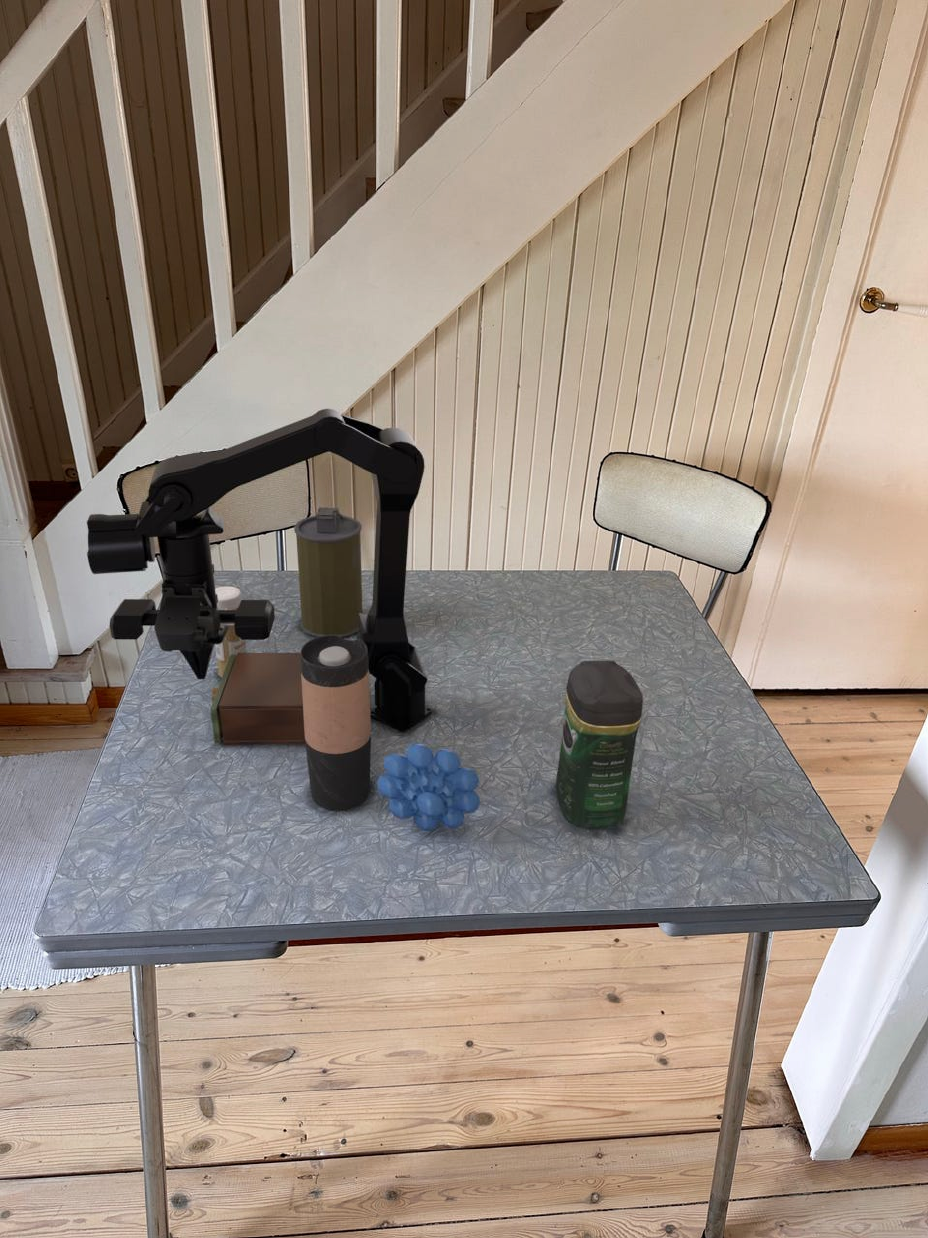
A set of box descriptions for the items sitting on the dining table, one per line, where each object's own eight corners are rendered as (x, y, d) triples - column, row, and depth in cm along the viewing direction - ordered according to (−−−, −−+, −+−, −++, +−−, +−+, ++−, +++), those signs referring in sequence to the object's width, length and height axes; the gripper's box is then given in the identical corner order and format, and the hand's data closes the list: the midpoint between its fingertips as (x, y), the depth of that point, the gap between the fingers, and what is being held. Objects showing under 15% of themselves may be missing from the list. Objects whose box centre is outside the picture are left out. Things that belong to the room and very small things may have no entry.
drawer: (205, 743, 109) (200, 709, 107) (225, 686, 121) (221, 654, 119) (308, 742, 110) (306, 708, 107) (318, 686, 122) (316, 654, 119)
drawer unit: (223, 744, 110) (218, 705, 107) (241, 689, 121) (237, 652, 118) (316, 744, 110) (313, 705, 108) (325, 689, 122) (323, 652, 119)
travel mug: (321, 820, 98) (312, 674, 88) (300, 782, 104) (289, 641, 94) (382, 801, 101) (379, 659, 91) (358, 765, 107) (354, 628, 97)
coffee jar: (632, 831, 98) (655, 698, 89) (566, 835, 97) (582, 701, 88) (610, 778, 106) (628, 651, 97) (549, 781, 105) (562, 654, 96)
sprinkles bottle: (248, 680, 124) (240, 598, 117) (216, 682, 123) (206, 600, 116) (250, 664, 127) (241, 584, 121) (219, 665, 127) (209, 585, 120)
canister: (360, 640, 135) (356, 524, 125) (295, 638, 135) (287, 521, 125) (367, 608, 144) (365, 498, 135) (307, 606, 144) (300, 496, 135)
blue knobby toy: (377, 856, 93) (374, 770, 87) (378, 815, 99) (376, 732, 93) (481, 854, 94) (486, 769, 88) (477, 813, 100) (481, 730, 94)
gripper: (83, 596, 92) (107, 714, 99) (255, 597, 93) (266, 713, 101) (114, 555, 102) (134, 665, 109) (270, 556, 103) (279, 665, 110)
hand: (202, 677), depth 107 cm, fingers closed
